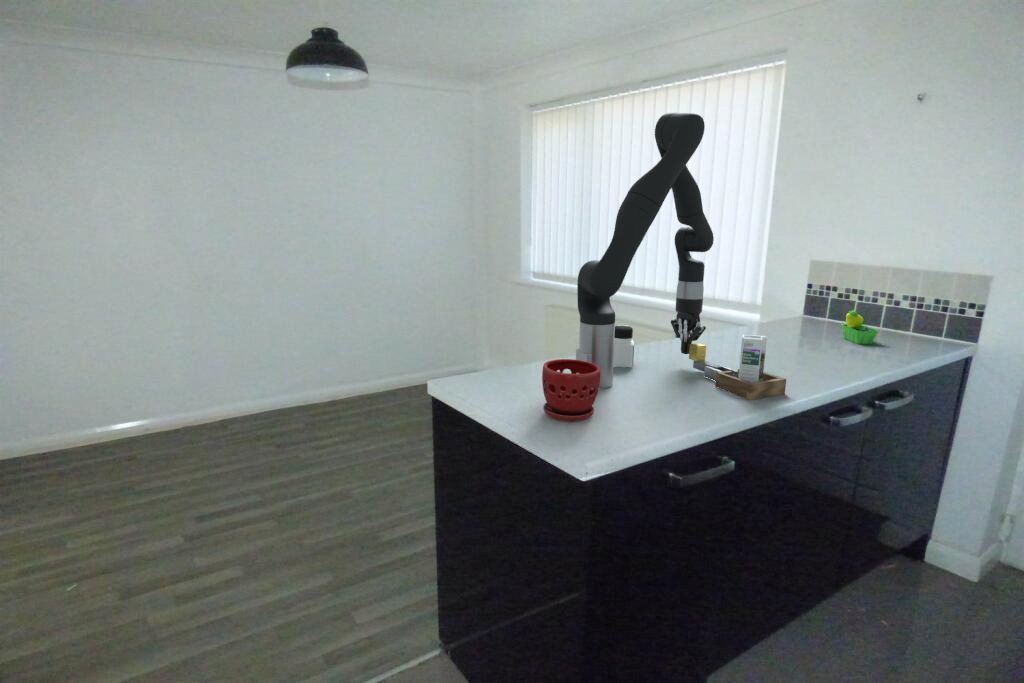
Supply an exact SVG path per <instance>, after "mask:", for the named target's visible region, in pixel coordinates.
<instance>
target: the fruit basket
mask: <svg viewBox="0 0 1024 683" xmlns="http://www.w3.org/2000/svg"><path fill="white" fill-rule="evenodd" d="M863 322H864V317H863V316H861V315H860V314H858V312H857V311H855V310H849V311H848V313H846V315H845V323H843V324H842V323H841V324H840V326H841V329H842V338H843V339H845V340H847V341H850V342H852V343H855V344H857V345H861V344H862V345H872V344H873V342H874V341H875V339H876V337H877V334H878V333H879V330H877V329H875V328H872V327H870V326H868V325H863Z"/></svg>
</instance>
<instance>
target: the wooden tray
mask: <svg viewBox="0 0 1024 683" xmlns="http://www.w3.org/2000/svg"><path fill="white" fill-rule="evenodd" d="M737 371H738V373H737V378H736V377H733V376H732V371H722V372H716V382H715V386H716V387H715V388H717V387H719V388H718V389H720V388H721V389H720V390H722V389H724V390H723V391H725V390H726V391H725V392H728V391H729V392H728V393H730V392H731V393H730V394H733V393H734V394H733V395H735V394H736V396H738V397H741V398H743V397H744V399H746V400H748V399H749V400H748V401H753V400H759V399H763V398H771V397H774V396H776V397H777V396H781V395H785V394H786V386H787V378H784V377H781V376H778V375H775V374H773V373H772V374H771V373H769V372H765V371H763V381H760V382H754V383H750V382H748V381H745V380H742V379H739V378H738V377H739V368H738V369H737Z"/></svg>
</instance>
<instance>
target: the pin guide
mask: <svg viewBox="0 0 1024 683" xmlns="http://www.w3.org/2000/svg"><path fill="white" fill-rule="evenodd" d="M719 365H720V366H723V370H722V371H732V376H733V377H736V378H737V373H738V369H733V368H730V367H727V366H724V365H721V364H719ZM722 371H721V370H718V369H715V368H712V367H709V366H705V369H704V371H703V372H704V374H703V377H704V376H705V377H708V378H710V379H713V380H715V381H716V372H722ZM710 379H709V380H710ZM713 380H712V381H713ZM715 381H714V382H715Z"/></svg>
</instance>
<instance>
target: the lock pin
mask: <svg viewBox="0 0 1024 683" xmlns="http://www.w3.org/2000/svg"><path fill="white" fill-rule="evenodd" d="M706 351H707V345H706V344H704V343H703V344H702V343H699V342H697V343H692V344H690V350H689V354H688V359H689V360H692V361H693V364H692V365H693V366H692V368H693V369H695V370H699V371H701V372H704V369H705V366H709V367H712V368H715V369H718V370H721V371H722V370H723V366H724V365H722V366H720V365H721V364H716V363H714V362H712V361H711V362H710V361H707V360H706Z"/></svg>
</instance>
